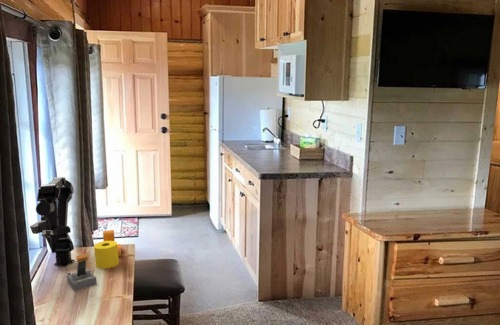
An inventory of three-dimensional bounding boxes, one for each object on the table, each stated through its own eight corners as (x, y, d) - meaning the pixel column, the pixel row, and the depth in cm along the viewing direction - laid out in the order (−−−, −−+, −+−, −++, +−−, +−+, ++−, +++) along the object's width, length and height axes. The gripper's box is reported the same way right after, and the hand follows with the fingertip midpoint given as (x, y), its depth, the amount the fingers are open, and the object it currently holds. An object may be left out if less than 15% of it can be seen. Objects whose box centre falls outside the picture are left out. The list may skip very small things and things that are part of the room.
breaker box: (67, 282, 190) (66, 271, 189) (89, 276, 195) (88, 265, 194) (74, 291, 182) (72, 279, 181) (96, 284, 187) (95, 272, 186)
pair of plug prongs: (67, 276, 196) (67, 273, 196) (80, 272, 199) (80, 269, 199) (72, 281, 190) (72, 279, 190) (85, 278, 193) (85, 275, 193)
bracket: (120, 257, 215) (118, 233, 213) (105, 259, 213) (102, 235, 211) (121, 249, 225) (119, 226, 223) (106, 251, 223) (103, 227, 221)
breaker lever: (75, 275, 187) (76, 256, 181) (85, 272, 189) (86, 253, 183) (76, 278, 186) (77, 259, 180) (86, 275, 188) (87, 256, 182)
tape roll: (117, 267, 203) (115, 247, 201) (94, 269, 202) (92, 249, 200) (120, 258, 213) (118, 239, 211) (98, 260, 211) (96, 241, 210)
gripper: (20, 216, 192) (22, 252, 192) (45, 215, 182) (48, 254, 181) (44, 212, 201) (46, 248, 201) (70, 212, 191) (72, 249, 191)
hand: (52, 250), depth 193 cm, fingers closed
